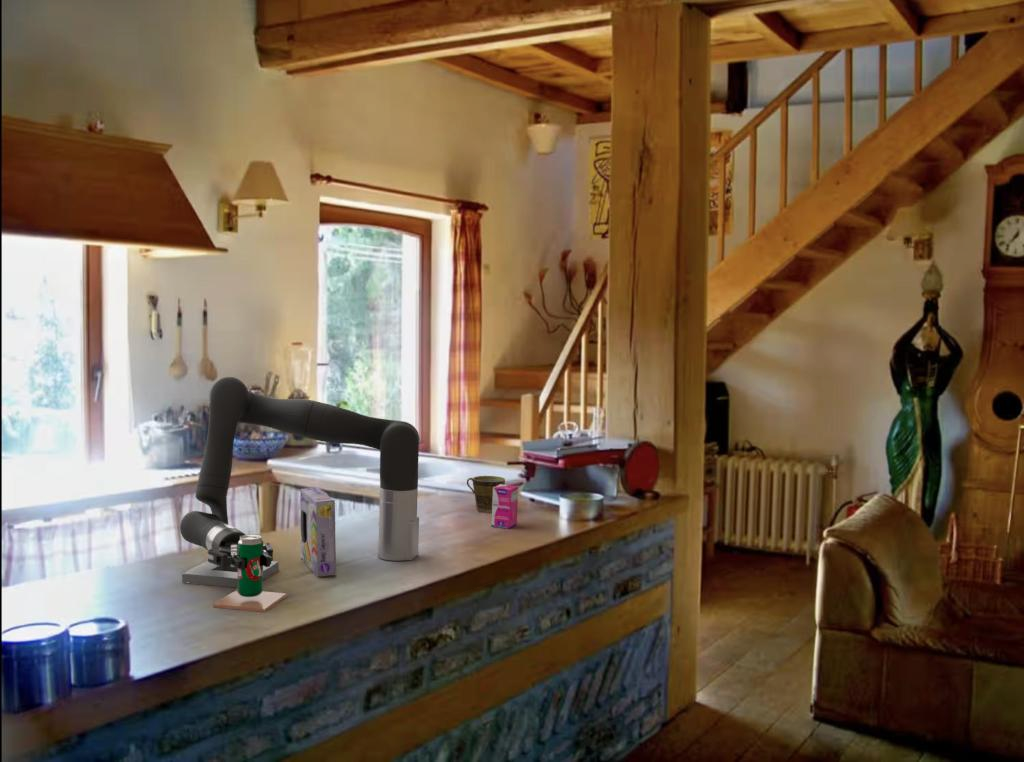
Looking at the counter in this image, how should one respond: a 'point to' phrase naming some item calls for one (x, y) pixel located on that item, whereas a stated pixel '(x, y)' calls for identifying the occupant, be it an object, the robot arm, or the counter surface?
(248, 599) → the terracotta tile
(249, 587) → the soda can
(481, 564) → the counter surface
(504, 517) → the supplement box
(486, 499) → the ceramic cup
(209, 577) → the frame
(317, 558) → the cake pan box
